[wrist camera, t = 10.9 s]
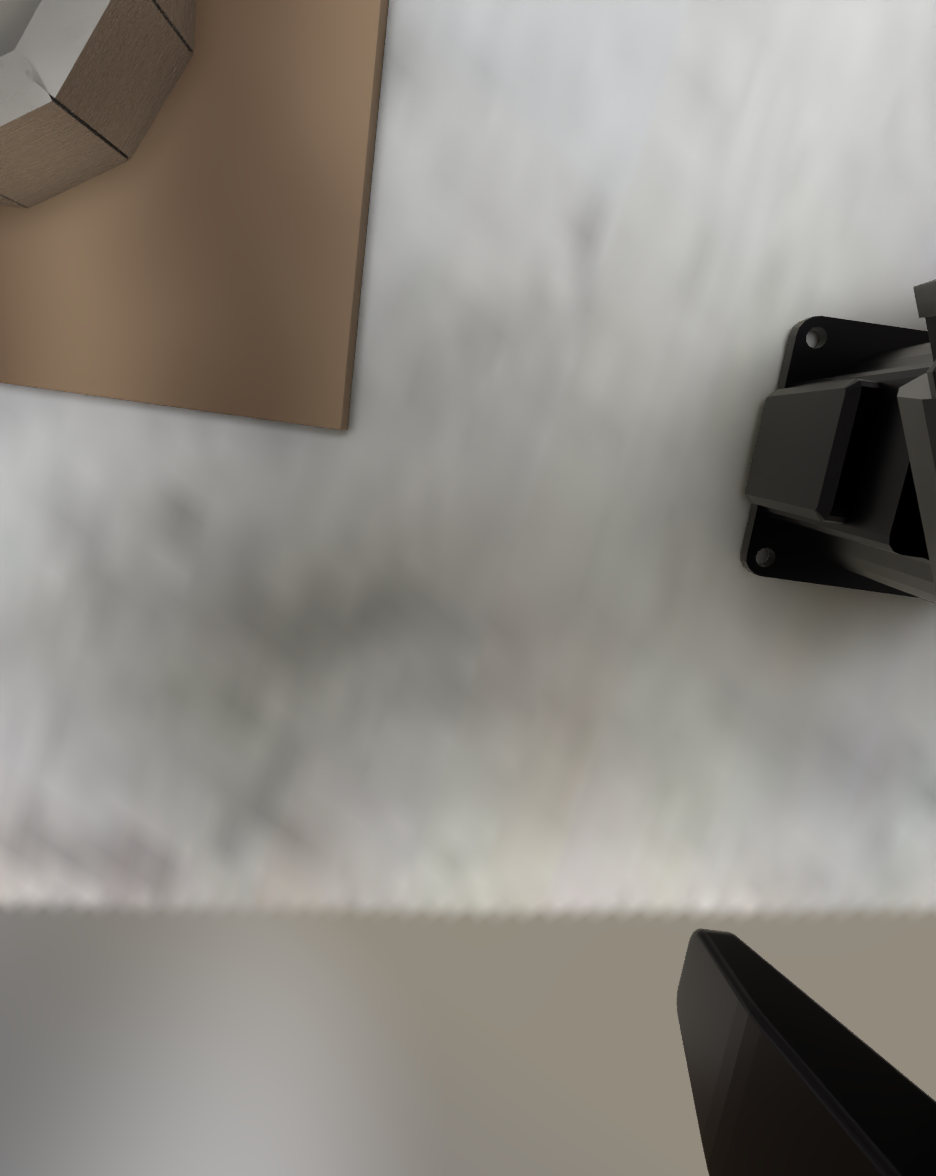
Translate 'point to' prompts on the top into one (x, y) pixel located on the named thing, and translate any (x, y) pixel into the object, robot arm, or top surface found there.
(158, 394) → the base plate
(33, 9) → the can
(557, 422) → the top surface
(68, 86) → the ring collar
